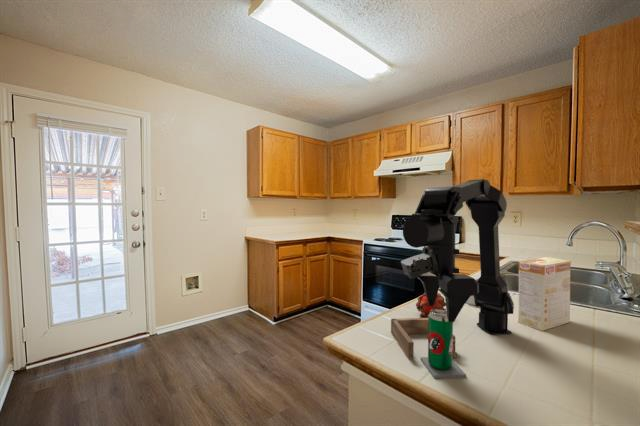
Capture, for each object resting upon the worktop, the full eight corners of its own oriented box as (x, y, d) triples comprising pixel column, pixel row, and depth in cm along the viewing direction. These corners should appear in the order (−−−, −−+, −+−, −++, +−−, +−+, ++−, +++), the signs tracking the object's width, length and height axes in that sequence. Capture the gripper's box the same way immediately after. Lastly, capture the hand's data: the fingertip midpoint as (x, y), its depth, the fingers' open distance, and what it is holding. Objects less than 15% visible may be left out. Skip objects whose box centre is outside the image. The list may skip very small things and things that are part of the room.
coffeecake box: (544, 314, 91) (545, 256, 91) (571, 322, 85) (572, 260, 84) (516, 322, 86) (517, 260, 85) (542, 331, 79) (543, 264, 79)
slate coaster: (449, 358, 65) (449, 356, 65) (466, 377, 58) (466, 374, 58) (420, 359, 65) (420, 357, 65) (434, 378, 58) (434, 375, 58)
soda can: (455, 373, 58) (455, 318, 58) (430, 370, 59) (430, 316, 59) (449, 360, 63) (449, 309, 63) (426, 357, 64) (426, 307, 64)
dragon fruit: (445, 317, 94) (421, 329, 88) (427, 297, 99) (403, 307, 94) (457, 302, 88) (432, 314, 83) (437, 282, 94) (413, 292, 88)
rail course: (434, 331, 79) (434, 317, 79) (460, 357, 66) (460, 341, 66) (391, 332, 79) (391, 318, 79) (408, 358, 65) (408, 342, 65)
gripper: (392, 238, 70) (391, 299, 70) (423, 250, 51) (422, 332, 51) (435, 238, 70) (434, 298, 70) (480, 250, 51) (479, 331, 52)
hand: (440, 313), depth 61 cm, fingers open, 9 cm apart
